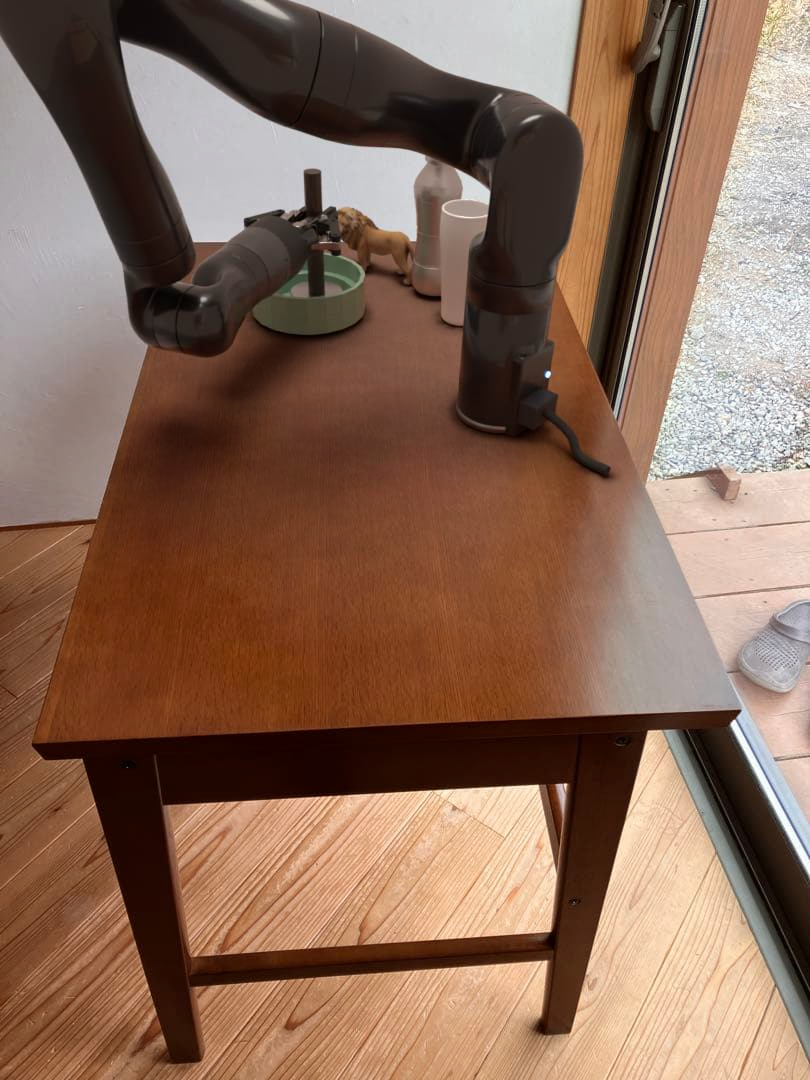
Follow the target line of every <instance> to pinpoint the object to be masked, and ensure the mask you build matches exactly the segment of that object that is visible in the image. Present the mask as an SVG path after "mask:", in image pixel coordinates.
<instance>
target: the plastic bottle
mask: <svg viewBox="0 0 810 1080" xmlns="http://www.w3.org/2000/svg"><path fill="white" fill-rule="evenodd" d="M424 160H425V161H426V163H425V165H424V167H423V168H421V170H420V171H419V173H418V174H417V176H416V178H415V180H414V183H413V197H414V208H415V218H416V220H415V221H416V223H415V224H416V237H415V238H416V240H415V246H414V247H415V248H414V254H415V256H414V260H413V262H412V265H411V278H412V283H411V284H412V286H413V287H414V289H415V290H416V292H418V293H419V294H420V295H425V296H429V297H441V273H440V219H441V210H442V206H443V205H444V204H445V203H446V202H449V201H452V200H459V199H463V198H462V196H463V191H464V187H463V182H462V180H461V177H460V175H459V173H458V172H457V171H458V170H457V169H456V168H454V167H451V166H449V165H447V164H445V163H443V162H440V161H438V160H436V159H433V158H431V157H428V156H426V155H424Z"/></svg>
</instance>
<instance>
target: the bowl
mask: <svg viewBox="0 0 810 1080" xmlns="http://www.w3.org/2000/svg"><path fill="white" fill-rule="evenodd" d="M324 276H325V281H329V282H333V283H335V284H338V285H339V286H340V287H341V288H342V289H343V291H342V292H340V293H336V294H332V295H327V296H320V297H291V292H290V291H291V288H292V287H293V286H294V285H296V284H298V283H301V282H305V281H308V268H307V260H306V262H305V264H304V266H303V268H302V270H301V271H300V272H299V273H298V274H297V275H296V276H295V277H293V278H292V279H291V280H290V281H289V282H287V283H286V284H285V285H284V286H283V287H281V288H280V289H279V290H278V291H277V292H275V293H274V294H273V295H272V296H270V297H268V298H266V299H264V300H262V301H261V302H260V303H259V304H257V305H256V306H255V307H254V308H253V309H251V312H252V317H254V319H255V320H256V321H257V322H258V323H259V324H261V325H262V326H265V327H267V328H269V329H271V330H273V331H277V332H281V333H286V334H291V335H302V336H315V335H316V336H317V335H323V334H329V333H332V332H337V331H341V330H344V329H346V328H349V327H351V326H353V325H355V324H357V322H358V321H360V319H361V318H363V317H364V314H365V311H366V273H365V272H364V270H363V268H362V267H361V266H360V263H357V261H355V260H353V259H351V258H348V257H345V256H343V255H340V256H332V255H331V252H325V251H324Z"/></svg>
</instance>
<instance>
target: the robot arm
mask: <svg viewBox="0 0 810 1080" xmlns="http://www.w3.org/2000/svg"><path fill="white" fill-rule="evenodd" d="M0 38H1V41H2V42H3V43H4V45H5V47H6V48H7V50H8V52H9V53H10V55H11V56H12V58H13V59H14V61H15V62H16V64H17V65H18V67H19V69H20V70H21V71H22V73H23V74H24V76H25V78H26V79H27V80H28V82H29V84H30V85H31V87H32V88H33V90H34V91H35V93H36V94H37V96H38V97H39V99H40V100H41V101H42V104H43V105H44V107H45V109H46V111H47V112H48V113H49V116H50V117H51V119H52V120H53V122H54V124H55V125H56V127H57V129H58V131H59V132H60V135H61V136H62V137H63V140H64V142H65V143H66V145H67V147H68V149H69V151H70V153H71V154H72V155H71V156H73V157H72V158H73V159H74V161H75V162H76V165H77V167H78V169H79V171H80V173H81V175H82V177H83V180H84V182H85V184H86V187H87V189H88V191H89V193H90V196H91V199H92V200H93V203H94V205H95V208H96V209H97V212H98V214H99V217H100V220H101V221H102V223H103V227H104V228H105V230H106V233H107V235H108V237H109V239H110V242H111V244H112V246H113V249H114V250H115V253H116V256H117V257H118V259H119V261H120V263H121V267H122V274H123V282H124V283H123V284H124V291H125V296H126V306H127V307H126V308H127V315H128V321H129V325H130V327H131V329H132V330H133V332H134V334H135V335H136V336H137V337H138V338H139V339H140V341H142V342H143V343H144V344H145V345H147V346H149V347H150V348H153V349H155V350H161V351H166V352H171V353H176V354H181V355H186V356H191V357H196V358H203V359H209V358H215V357H218V356H220V355H223V354H224V353H226V352H227V351H228V350H229V349H230V348H232V345H233V344H234V343H235V339H236V337H237V335H238V333H239V330H240V328H241V326H242V324H243V323H244V321H245V319H246V317H247V315H248V313H249V312H251V311H252V309H253V308H254V307H255V306H256V305H257V304H259V303H260V302H261V301H262V300H264V299H266V298H268V297H270V296H272V295H273V294H274V293H275V292H277V291H278V290H279V289H280V288H281V287H283V286H284V285H285V284H286V283H287V282H289V281H290V280H291V279H292V278H293V277H295V276H296V275H297V274H298V273H299V272H300V271H301V270H302V268H303V266H304V264H305V262H306V260H307V259H308V257H311V256H314V255H316V254H318V252H319V250H324V251H326V252H327V253H330V254H331V255H332V256H342V240H341V233H340V227H339V222H338V211H336V210H337V206H333V205H330V206H328V207H327V208H326V209H324V210H323V212H322V213H320V214H319V215H318V216H316V217H315V218H313V217H308V218H306V219H305V205H304V206H302V207H300V208H299V209H291V210H290V211H289V212H286V210H285V209H281V208H279V209H275V210H271V211H268V212H263V213H259V214H255V215H252V216H247V217H244V218H243V230H241V231H239V233H237V234H235V235H234V236H233V237H231V238H230V239H229V240H228V241H226V243H225V244H224V245H223V246H222V247H221V248H220V249H218V250H217V251H215V252H214V253H213V254H211V255H209V256H208V257H206V258H205V259H204V260H202V262H201V263H199V264H198V266H197V267H196V268H195V269H194V267H195V265H196V261H197V253H196V252H197V251H196V247H195V244H194V240H193V237H192V235H191V231H190V228H189V226H188V223H187V220H186V217H185V215H184V212H183V209H182V206H181V204H180V201H179V198H178V195H177V192H176V190H175V188H174V185H173V183H172V181H171V179H170V176H169V174H168V172H167V170H166V169H165V167H164V165H163V163H162V161H161V159H160V157H159V155H158V154H157V152H156V150H155V149H154V147H153V145H152V144H151V142H150V140H149V137H148V135H147V133H146V131H145V129H144V127H143V123H142V121H141V119H140V117H139V114H138V110H137V108H136V105H135V102H134V98H133V96H132V91H131V89H130V84H129V79H128V75H127V70H126V65H125V60H124V55H123V50H122V45H121V42H123V43H126V44H129V45H132V46H136V47H139V48H143V49H146V50H149V51H151V52H154V53H156V54H159V55H161V56H164V57H166V58H167V59H170V60H172V61H174V62H176V63H177V64H179V65H181V66H183V67H185V68H186V69H188V71H191V72H192V73H194V74H195V75H197V76H198V77H200V78H201V79H203V80H204V81H205V82H207V83H208V84H210V85H211V86H213V87H214V88H215V89H217V90H218V91H219V92H221V93H222V94H224V95H226V96H227V97H229V99H232V100H233V101H235V102H236V103H238V104H239V105H241V106H242V107H244V108H245V109H247V110H248V111H250V112H252V113H254V114H255V115H256V116H258V117H260V118H262V119H264V120H266V121H269V122H271V123H273V124H277V125H278V126H281V127H284V128H287V129H290V130H293V131H296V132H299V133H302V134H305V135H308V136H311V137H315V138H316V139H321V140H324V141H328V142H331V143H335V144H338V145H339V144H340V145H343V146H345V145H346V146H352V147H358V148H359V147H360V148H375V149H376V148H377V149H399V150H404V151H405V150H407V151H410V152H414V153H417V154H420V155H423V156H425V155H426V156H428V157H431V158H433V159H436V160H438V161H440V162H443V163H445V164H447V165H449V166H451V167H454V168H455V170H457V171H460V172H462V173H464V174H465V175H467V176H469V177H471V178H472V179H474V180H476V182H478V183H479V184H481V185H482V186H483V187H484V188H485V189H486V190H488V191H489V200H488V204H489V208H488V216H487V223H486V229H485V230H484V231H482V232H480V233H478V234H477V235H475V236H474V237H473V239H472V240H471V243H470V246H469V254H468V270H467V283H466V295H465V308H464V321H463V326H462V333H461V334H462V335H461V349H460V358H459V359H460V361H459V373H458V387H457V399H456V405H455V413H456V415H457V416H458V418H459V419H460V420H461V421H462V422H463V423H464V424H466V425H468V426H469V427H471V428H474V429H476V430H479V431H482V432H487V433H492V434H505V435H508V436H510V437H516V436H518V435H519V434H520V433H522V432H523V431H525V430H526V429H528V428H529V429H531V430H534V431H535V429H537V428H539V427H540V426H541V425H543V424H544V423H546V422H547V421H549V423H551V424H552V425H554V426H555V428H557V429H558V430H559V431H560V432H561V433H562V434H563V435H564V436H565V438H566V440H567V441H568V444H569V448H570V451H571V454H572V455H573V457H574V458H575V459H576V460H577V461H578V462H579V463H580V464H582V465H583V466H585V467H587V468H588V469H591V470H593V471H596V472H599V473H601V474H603V475H604V476H607V475H609V473H610V472H611V468H612V467H611V466H610V465H608V464H606V463H603V462H601V461H598V460H596V459H594V458H591V457H589V456H588V455H587V454H585V452H583V450H582V448H581V445H580V441H579V439H578V437H577V434H576V433H575V432H574V430H573V429H572V427H571V426H570V425H569V424H568V423H566V421H564V420H563V419H562V418H561V417H560V416H558V415H557V414H556V412H557V411H556V409H557V403H558V397H559V394H558V393H557V392H555V391H552V390H549V383H550V377H551V370H552V364H553V357H554V352H555V351H554V350H555V342H554V341H553V340H551V339H550V338H549V332H550V331H549V330H550V325H551V324H550V323H551V317H552V311H553V310H552V309H553V303H554V296H555V289H556V282H557V275H558V270H559V269H558V268H559V264H560V260H561V258H562V257H563V255H564V253H565V251H566V250H567V248H568V246H569V243H570V239H571V236H572V232H573V226H574V222H575V217H576V211H577V206H578V201H579V196H580V190H581V185H582V179H583V173H584V162H585V149H584V148H585V147H584V140H583V137H582V136H583V135H582V133H581V131H580V128H579V127H578V124H576V122H575V121H574V120H573V119H572V118H571V117H570V116H569V115H567V114H566V113H564V112H563V111H561V110H559V109H558V108H557V107H555V106H553V105H551V104H550V103H548V102H546V101H544V100H543V99H541V98H539V97H538V96H536V95H533V94H532V93H528V92H525V91H521V90H517V89H513V88H507V87H503V86H499V85H495V84H490V83H486V82H482V81H478V80H476V79H475V80H474V79H471V78H467V77H464V76H460V75H457V74H453V73H450V72H447V71H444V70H442V69H440V68H437V67H435V66H433V65H431V64H429V63H427V62H425V61H424V60H422V59H420V58H418V57H417V56H415V55H414V54H412V53H410V52H408V51H407V50H405V49H404V48H402V47H400V46H398V45H396V44H394V43H392V42H391V41H389V40H386V39H384V38H382V37H380V36H379V35H376V34H374V33H372V32H371V31H368V30H366V29H364V28H362V27H359V26H357V25H355V24H353V23H350V22H348V21H346V20H343V19H340V18H337V17H336V16H334V15H330V14H327V13H325V12H323V11H321V10H318V9H316V8H314V7H310V6H307V5H305V4H301V3H298V2H296V1H292V0H0ZM192 270H194V271H193V273H192V276H191V280H190V281H191V282H190V283H188V282H181V281H182V280H183V279H185V278H186V277H187V276H189V274H190V273H191V272H192Z"/></svg>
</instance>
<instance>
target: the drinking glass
mask: <svg viewBox="0 0 810 1080" xmlns="http://www.w3.org/2000/svg"><path fill="white" fill-rule="evenodd" d="M488 208H489V202H488V203H487V202H485V201H482V200H477V199H471V198H469V199H468V198H466V199H465V198H461V199H459V200H452V201H449V202H446V203H445V204H444V205H443V206H442V210H441V219H440V273H441V296H440V299H441V300H440V303H441V304H440V317H441V318H442V320H443V321H444V322H445V323H447V324H449V325H452V326H458V327H463V321H464V308H465V295H466V283H467V270H468V254H469V246H470V243H471V240H472V239H473V237H474V236H475V235H477V234H478V233H480V232H482V231H484V230H485V229H486V223H487V216H488Z"/></svg>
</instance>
